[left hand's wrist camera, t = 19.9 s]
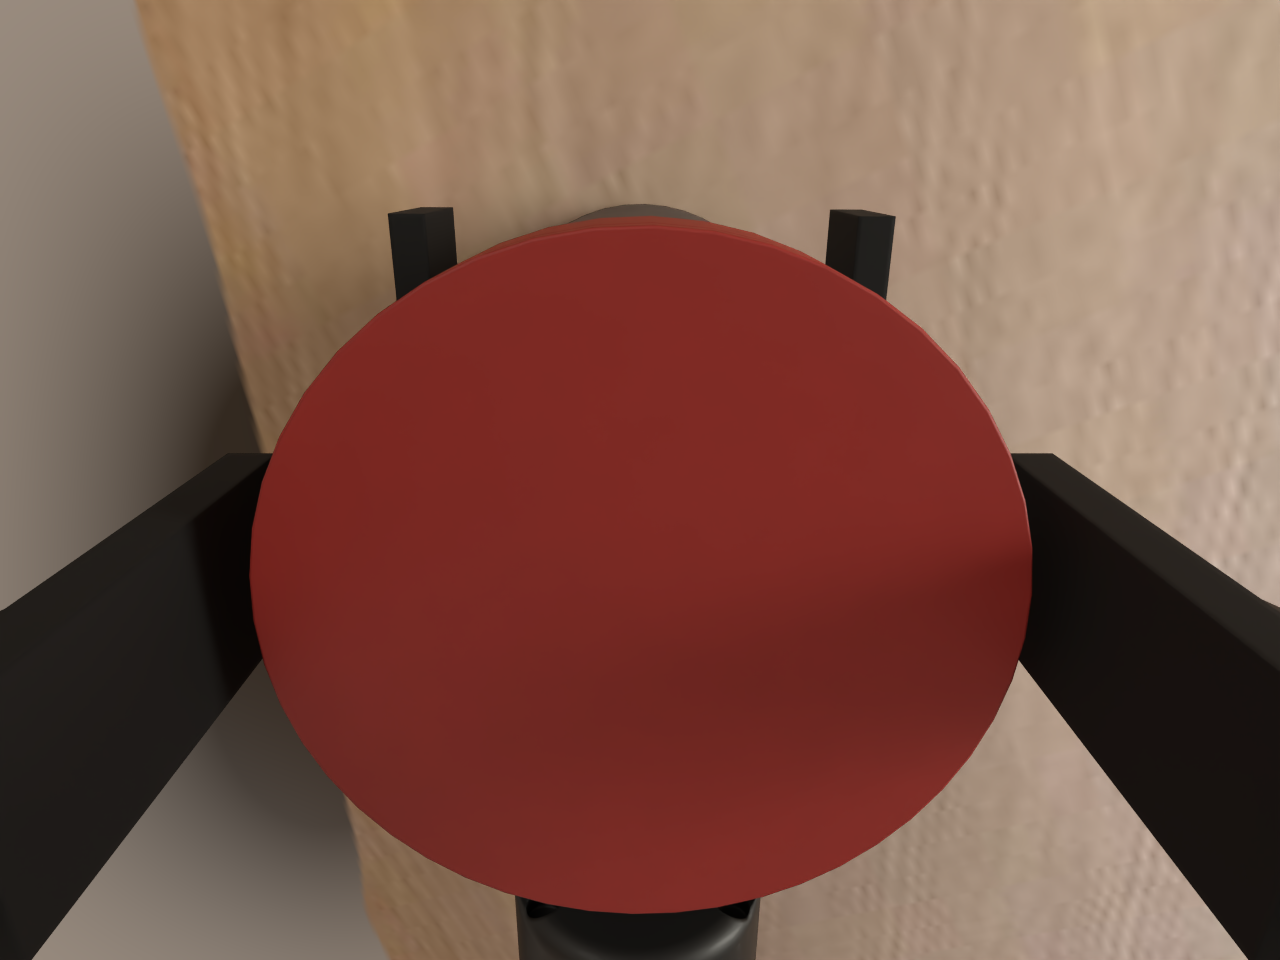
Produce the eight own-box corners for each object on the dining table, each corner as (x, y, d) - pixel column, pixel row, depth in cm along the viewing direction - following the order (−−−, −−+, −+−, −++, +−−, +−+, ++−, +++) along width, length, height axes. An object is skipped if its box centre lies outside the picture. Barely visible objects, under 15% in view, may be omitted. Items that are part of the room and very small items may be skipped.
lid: (1071, 682, 13) (1132, 756, 11) (528, 905, 14) (514, 997, 13) (811, 57, 9) (845, 35, 8) (155, 440, 11) (76, 485, 10)
